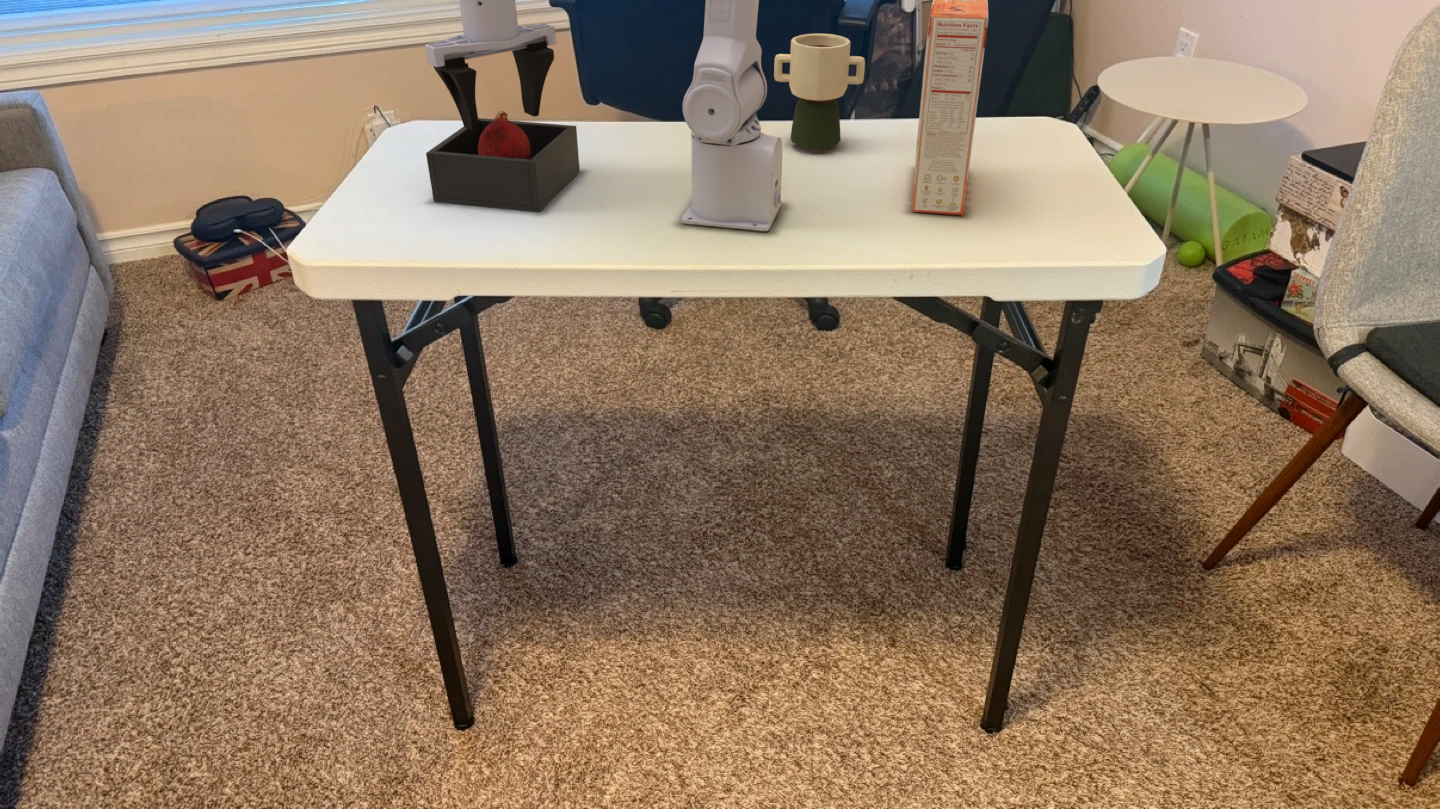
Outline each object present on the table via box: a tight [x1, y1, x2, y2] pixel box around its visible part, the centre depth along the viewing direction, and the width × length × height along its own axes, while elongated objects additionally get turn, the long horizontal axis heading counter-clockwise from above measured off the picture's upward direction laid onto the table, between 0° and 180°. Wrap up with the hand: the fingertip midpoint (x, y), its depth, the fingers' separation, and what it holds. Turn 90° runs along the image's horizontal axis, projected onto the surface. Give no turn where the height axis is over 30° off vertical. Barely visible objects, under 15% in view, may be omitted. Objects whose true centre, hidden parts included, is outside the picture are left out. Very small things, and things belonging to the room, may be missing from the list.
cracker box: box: [911, 0, 989, 216], centre depth 110 cm, size 14×6×21 cm, turn 168°
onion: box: [478, 110, 531, 159], centre depth 114 cm, size 6×6×8 cm
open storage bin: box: [425, 117, 581, 213], centre depth 115 cm, size 13×13×6 cm
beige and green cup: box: [773, 33, 866, 151], centre depth 125 cm, size 11×7×13 cm, turn 83°
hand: (502, 121), depth 112 cm, fingers open, 7 cm apart
